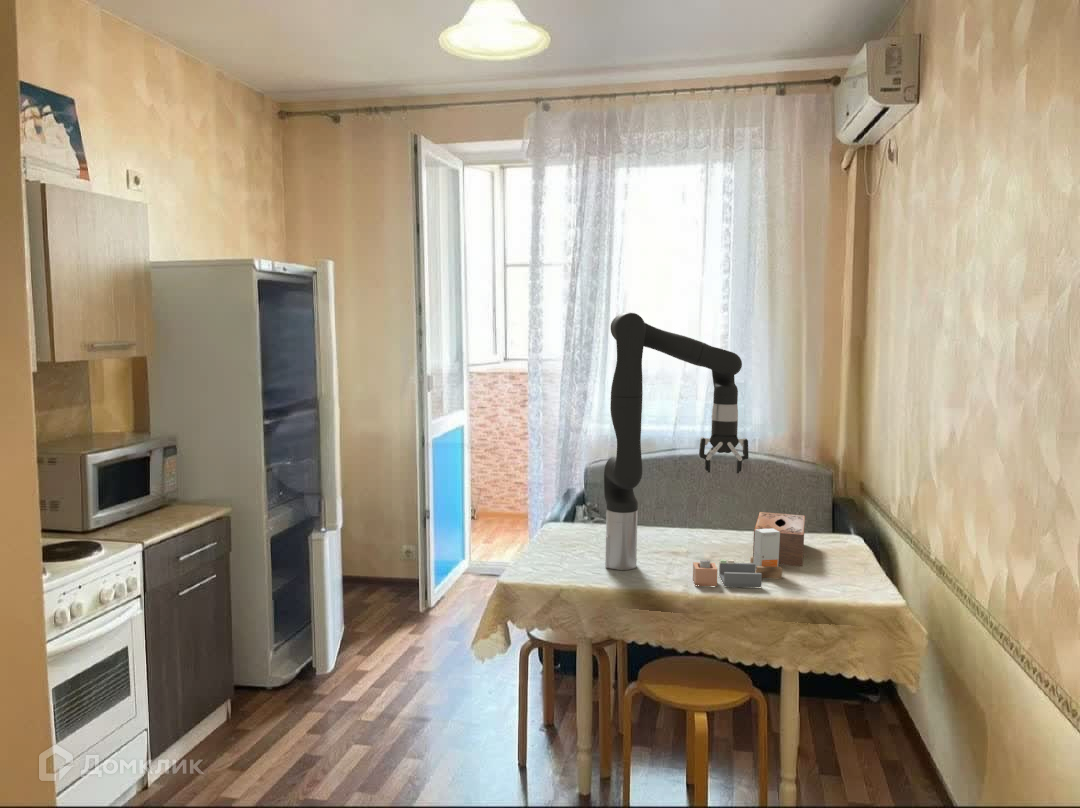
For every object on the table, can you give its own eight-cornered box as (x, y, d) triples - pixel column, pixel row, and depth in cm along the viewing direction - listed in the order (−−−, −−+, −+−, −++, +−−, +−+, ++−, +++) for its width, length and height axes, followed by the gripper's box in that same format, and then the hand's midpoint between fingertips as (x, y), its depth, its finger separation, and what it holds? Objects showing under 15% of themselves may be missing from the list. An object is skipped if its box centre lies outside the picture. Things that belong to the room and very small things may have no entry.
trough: (756, 578, 237) (757, 567, 236) (750, 567, 247) (750, 556, 247) (781, 579, 236) (782, 568, 236) (774, 568, 246) (774, 557, 246)
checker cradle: (724, 587, 228) (724, 570, 228) (718, 575, 239) (719, 559, 238) (761, 588, 228) (761, 571, 227) (754, 576, 238) (754, 560, 237)
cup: (695, 586, 229) (695, 563, 228) (692, 579, 235) (693, 557, 234) (717, 586, 229) (717, 564, 228) (713, 580, 235) (714, 558, 234)
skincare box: (759, 573, 239) (761, 532, 237) (752, 568, 243) (754, 528, 241) (779, 572, 240) (780, 531, 239) (771, 567, 244) (773, 527, 243)
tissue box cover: (802, 567, 248) (803, 534, 247) (752, 562, 253) (753, 530, 252) (803, 545, 273) (804, 515, 272) (758, 541, 277) (759, 511, 276)
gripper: (702, 419, 242) (700, 474, 244) (751, 420, 241) (749, 475, 243) (699, 416, 250) (697, 469, 251) (746, 417, 249) (744, 470, 250)
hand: (723, 472), depth 247 cm, fingers open, 8 cm apart
